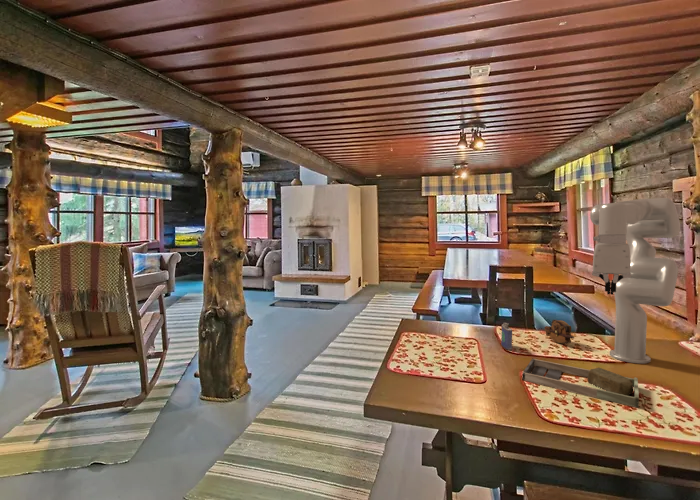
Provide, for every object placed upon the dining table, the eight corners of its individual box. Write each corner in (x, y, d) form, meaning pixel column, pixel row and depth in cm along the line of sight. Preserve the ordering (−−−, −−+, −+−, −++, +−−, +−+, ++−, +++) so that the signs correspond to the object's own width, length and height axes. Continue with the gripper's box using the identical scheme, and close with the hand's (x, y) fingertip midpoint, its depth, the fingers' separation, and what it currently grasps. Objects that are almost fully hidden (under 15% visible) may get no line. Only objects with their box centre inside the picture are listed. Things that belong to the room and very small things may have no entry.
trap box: (532, 364, 131) (532, 357, 131) (637, 387, 112) (637, 378, 112) (522, 379, 118) (522, 371, 118) (638, 407, 99) (638, 397, 99)
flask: (512, 350, 146) (513, 325, 145) (505, 350, 147) (505, 325, 146) (506, 343, 155) (506, 320, 155) (499, 343, 156) (499, 320, 155)
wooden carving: (540, 337, 164) (540, 316, 163) (549, 336, 164) (549, 315, 164) (568, 349, 147) (568, 326, 147) (577, 348, 148) (578, 325, 148)
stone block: (598, 380, 118) (598, 366, 117) (635, 396, 107) (636, 380, 106) (585, 383, 116) (586, 368, 115) (622, 399, 105) (622, 383, 105)
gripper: (584, 240, 119) (582, 293, 120) (641, 240, 109) (639, 298, 110) (586, 239, 124) (585, 290, 126) (640, 240, 115) (638, 294, 116)
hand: (610, 293), depth 118 cm, fingers closed
